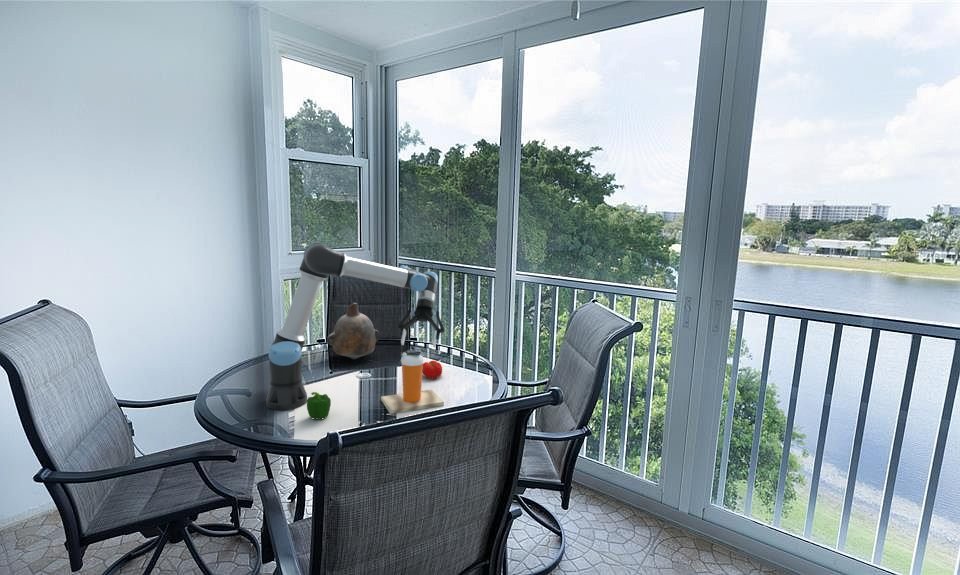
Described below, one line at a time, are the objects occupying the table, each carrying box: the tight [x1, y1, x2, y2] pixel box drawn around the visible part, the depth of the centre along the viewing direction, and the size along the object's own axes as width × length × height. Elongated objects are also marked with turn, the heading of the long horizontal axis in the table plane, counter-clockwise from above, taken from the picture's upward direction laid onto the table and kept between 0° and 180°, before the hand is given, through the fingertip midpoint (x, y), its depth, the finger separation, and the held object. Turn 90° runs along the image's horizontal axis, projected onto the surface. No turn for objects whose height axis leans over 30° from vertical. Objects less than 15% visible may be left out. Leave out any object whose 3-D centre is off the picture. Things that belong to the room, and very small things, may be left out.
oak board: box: [380, 389, 445, 415], centre depth 190 cm, size 22×14×2 cm, turn 116°
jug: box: [326, 302, 381, 360], centre depth 238 cm, size 24×21×30 cm
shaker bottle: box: [400, 349, 425, 403], centre depth 188 cm, size 9×9×20 cm
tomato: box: [422, 360, 443, 379], centre depth 220 cm, size 10×11×6 cm
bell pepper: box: [306, 391, 332, 420], centre depth 173 cm, size 8×8×10 cm
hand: (418, 344), depth 196 cm, fingers open, 13 cm apart
